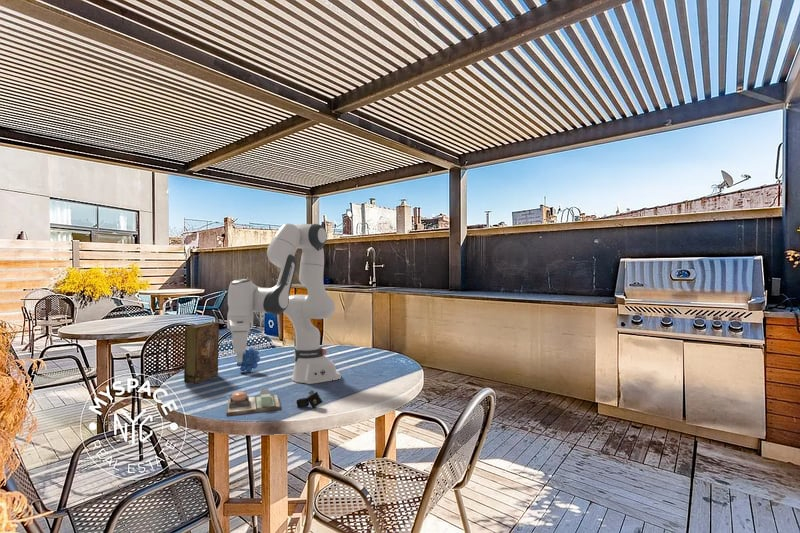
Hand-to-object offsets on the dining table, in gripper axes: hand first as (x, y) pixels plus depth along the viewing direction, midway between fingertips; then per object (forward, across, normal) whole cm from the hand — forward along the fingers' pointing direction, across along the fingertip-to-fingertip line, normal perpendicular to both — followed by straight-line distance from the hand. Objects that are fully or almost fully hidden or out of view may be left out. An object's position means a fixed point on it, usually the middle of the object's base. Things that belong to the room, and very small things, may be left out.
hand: (239, 360), depth 142 cm
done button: (+14, 0, 0) cm, 14 cm away
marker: (+16, 0, +9) cm, 18 cm away
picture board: (+17, 0, +5) cm, 18 cm away
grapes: (+17, -51, +4) cm, 54 cm away
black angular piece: (+17, +9, +24) cm, 31 cm away
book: (+17, -44, -16) cm, 50 cm away
